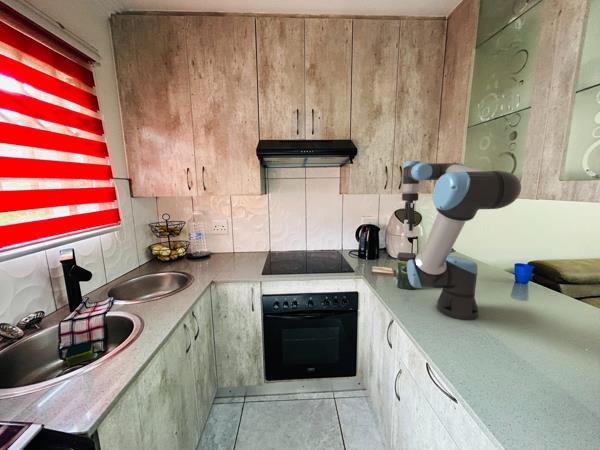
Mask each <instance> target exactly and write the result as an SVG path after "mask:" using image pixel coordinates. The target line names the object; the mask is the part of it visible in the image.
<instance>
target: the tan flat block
mask: <svg viewBox="0 0 600 450" xmlns="http://www.w3.org/2000/svg"><path fill="white" fill-rule="evenodd" d="M370 269H371V272H370V275H371V276H383V277H394V278H395V271H394V267H389V266H388V267H386V266H373V265H372V266H371V268H370Z"/></svg>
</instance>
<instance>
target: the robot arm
mask: <svg viewBox="0 0 600 450" xmlns="http://www.w3.org/2000/svg"><path fill="white" fill-rule="evenodd" d="M402 169H403V172H402V173H403V175H402V185H401V189H402V192H403V193H402V194H401V200H402V201H403V202H404V215H403V219H404V221H403V232H404V233H406V237H407V238H413V237H414V229H415V228H414V224H415V223H416V222H415V202H417V201H418V200H419V192H420V182H421V181H436V183H435V184H434V186H433V187H434V188H433V190H432V193H433V194H432V203H433V205H434V206H435V209H436V212H437V214H436V216H435V219H434V222H433V224H432V227H431V230H430V231H429V234H428V237H427V239H426V242H425V244H424V247H423V249H422V251H421V252H419V253H417V254H416V258H415V260H412V259H411V260H408V262H407V274H408V279H409V282H410V284H411V285H412V286H413V287H415V288H418V289H419V288H420V289H442V290H441V292H440V294H439V297H438V299H437V301H436V309H437V310H438V312H440V313H442V315H445V316H448V317H450V318H454V319H457V320H464V321H465V320H466V321H468V320H469V321H471V320H475V319H477V318H478V317H479V308H478V304H477V300H476V286H477V276H478V275H479V273H478V264H477V263H476V262H475V261H474V260H470V259H468V258H465V257H461V256H458V255H457V256H455V255H449V254H450V253H451V251H452V249H453V247H454V245H455V243H456V241H457V239H458V237H459V235H460V233H461V232H462V230H463V227H464V226H465V224H466V222H468V221H471V220H473V219H474V218H475V217H476V215H477V213H478V211H479V210H498V209H502V208H506V207H507V206H509V205H512V204H513V203H514V202H515V201H516V200H517V199H518V198H519V196H520V194H521V191H522V184H521V181H520V179H519V177H517V176H516V175H515V174H514V173H511V172H509V171H503V170H487V171H486V170H482V169H478V168H473V167H471V166H465V165H464V163H462V162H445V163H444V162H440V163H439V162H437V163H435V162H434V163H426V162H421V161H419V160H407V161H405V162H403V168H402Z"/></svg>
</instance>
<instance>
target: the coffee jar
mask: <svg viewBox="0 0 600 450" xmlns="http://www.w3.org/2000/svg"><path fill="white" fill-rule="evenodd" d="M416 256H417V254H416V253H415V252H414V253H412V252H398V253H397V257H396V263H397V271H396V277H395V278H396V279H395V285H396V287H397V288H398V289H405V290H414V289H415V288H416V287H413V286H412V285H411V284H410V282H409V279H408V274H407V262H408V260H411V259H412V260H415V258H416Z"/></svg>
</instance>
